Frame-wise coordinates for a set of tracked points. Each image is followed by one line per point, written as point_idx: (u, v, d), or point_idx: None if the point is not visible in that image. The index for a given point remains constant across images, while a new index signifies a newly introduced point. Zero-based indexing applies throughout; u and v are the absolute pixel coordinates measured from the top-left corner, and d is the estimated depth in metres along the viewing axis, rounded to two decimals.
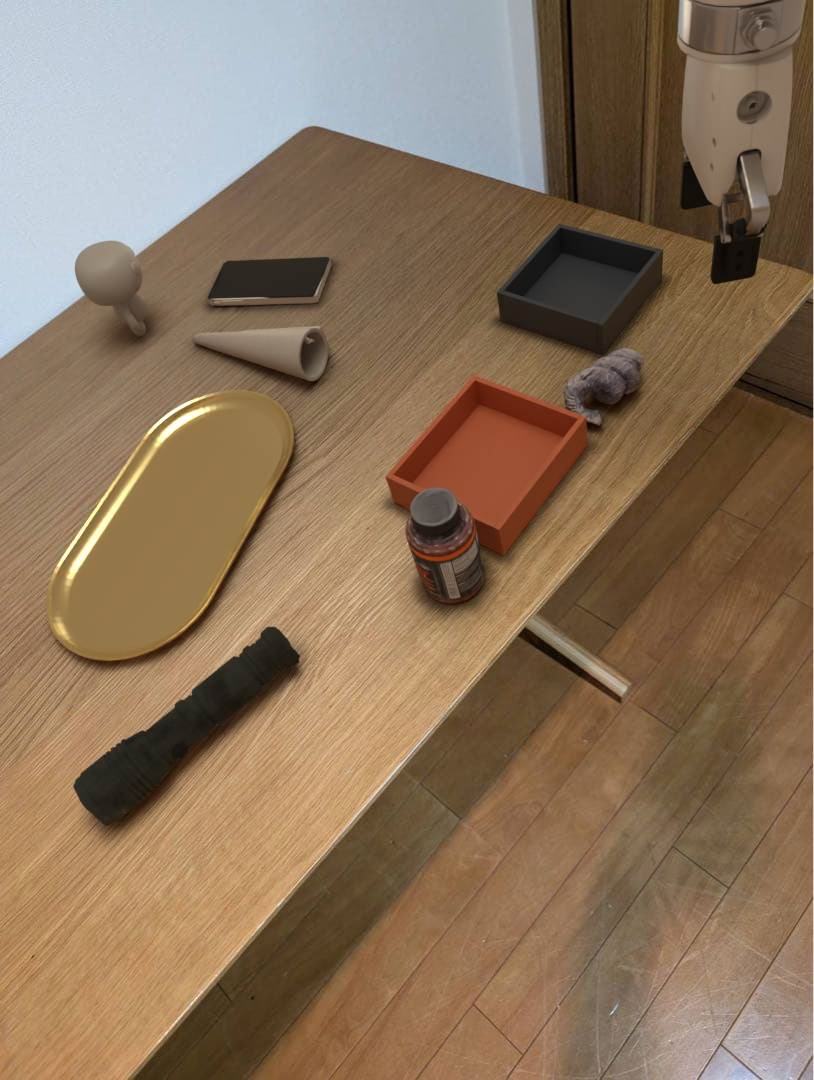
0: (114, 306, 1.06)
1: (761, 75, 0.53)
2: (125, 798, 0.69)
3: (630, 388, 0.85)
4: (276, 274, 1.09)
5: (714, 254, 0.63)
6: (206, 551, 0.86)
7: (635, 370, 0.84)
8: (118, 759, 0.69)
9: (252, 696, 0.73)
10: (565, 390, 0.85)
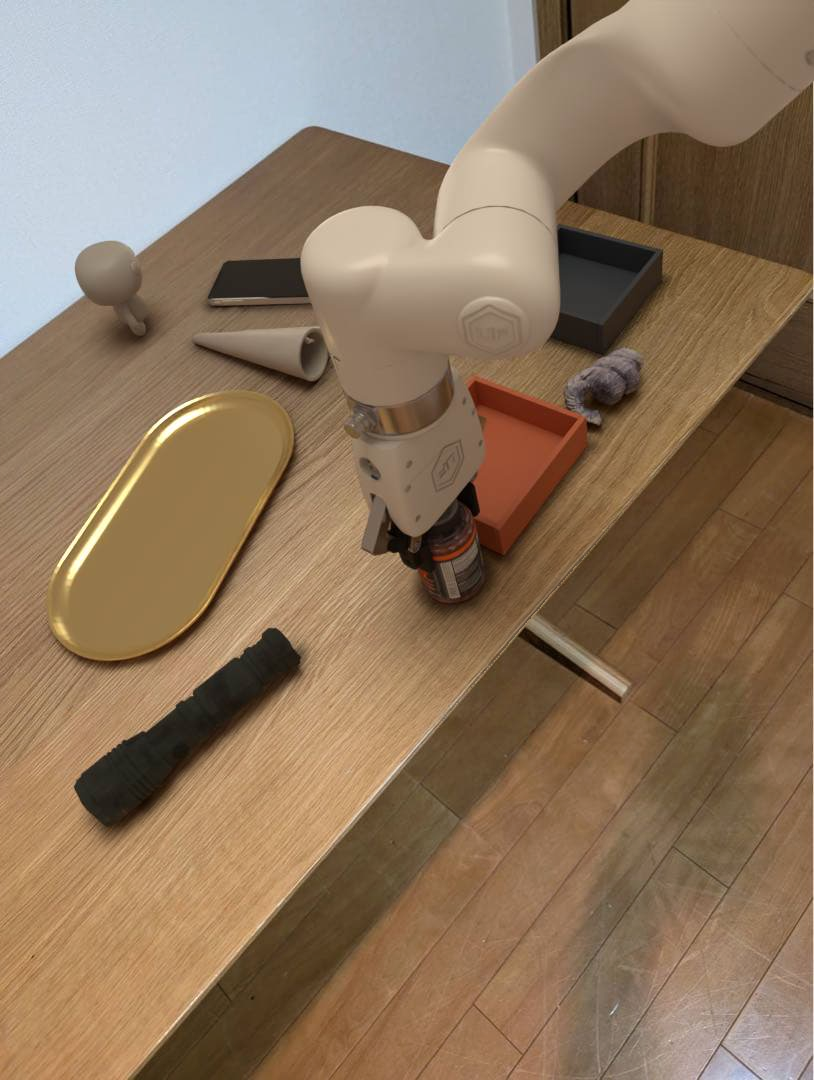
0: (114, 306, 1.06)
1: (368, 451, 0.59)
2: (126, 799, 0.69)
3: (630, 388, 0.85)
4: (276, 274, 1.09)
5: None
6: (206, 551, 0.86)
7: (635, 370, 0.84)
8: (118, 760, 0.69)
9: (253, 697, 0.73)
10: (565, 390, 0.85)
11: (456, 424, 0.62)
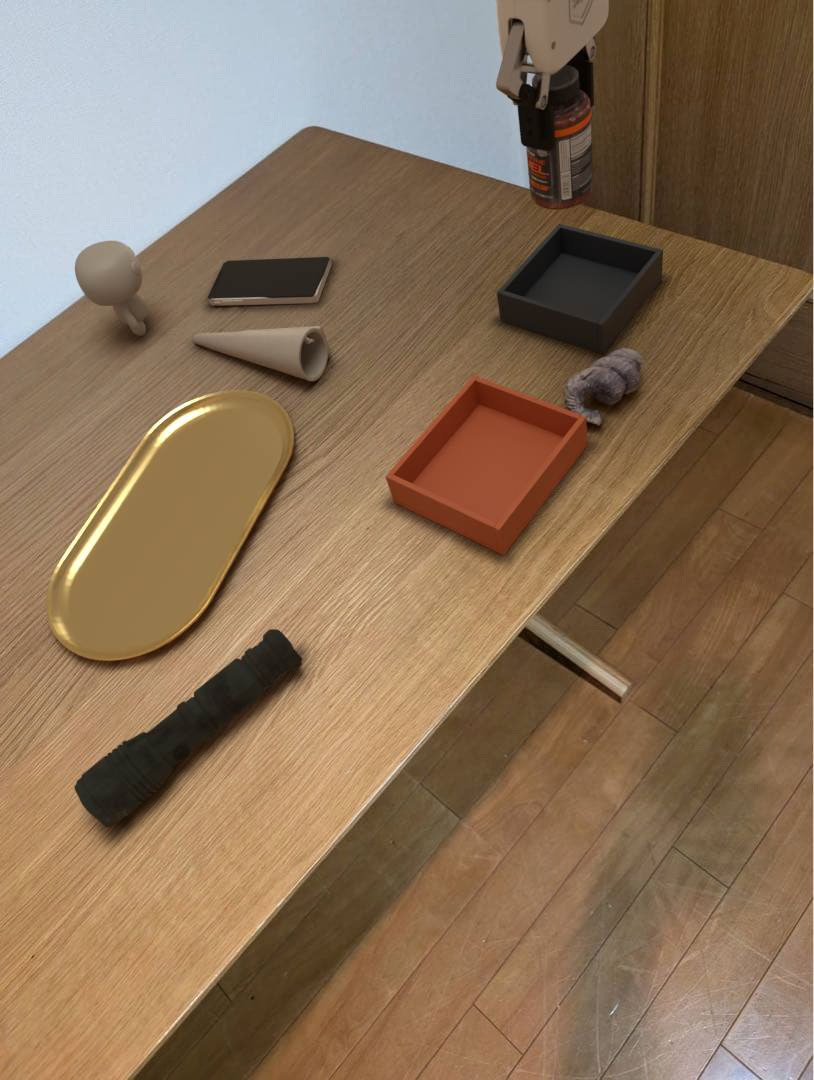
0: (114, 306, 1.06)
1: None
2: (126, 800, 0.69)
3: (630, 388, 0.85)
4: (276, 273, 1.09)
5: (519, 115, 0.74)
6: (206, 551, 0.86)
7: (635, 370, 0.84)
8: (119, 761, 0.69)
9: (254, 699, 0.73)
10: (565, 390, 0.85)
11: None
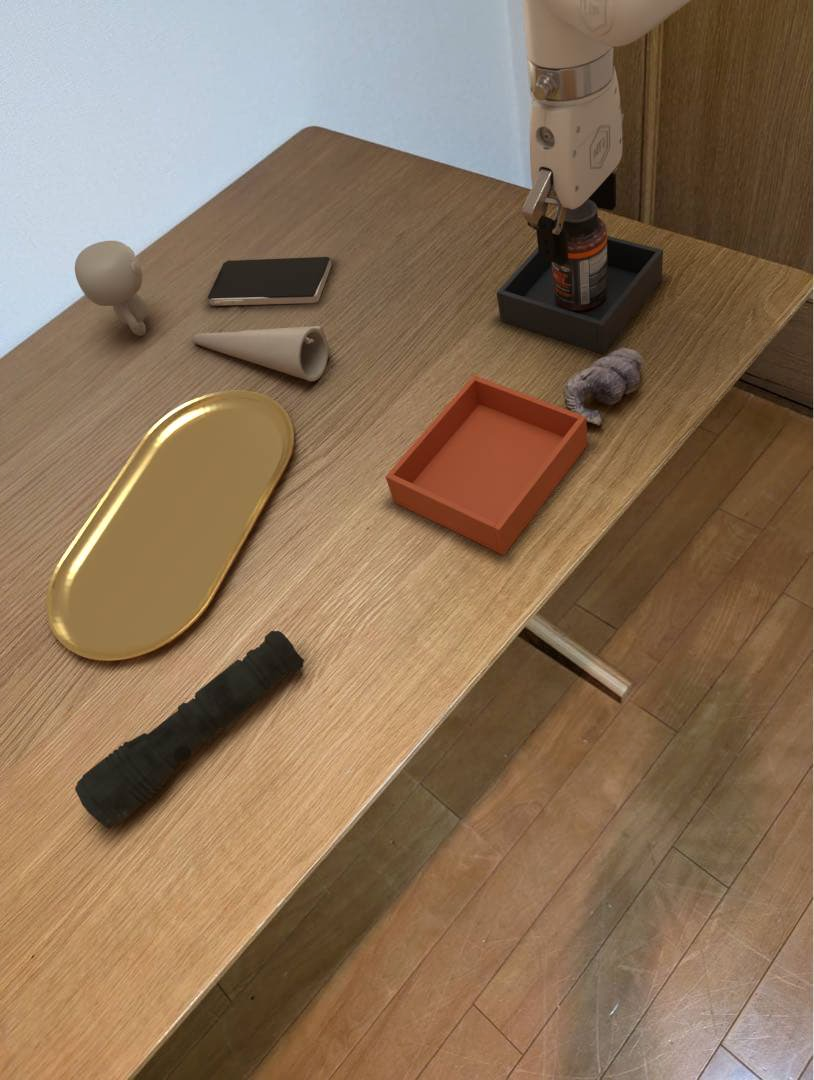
0: (114, 306, 1.06)
1: (547, 118, 0.76)
2: (127, 801, 0.69)
3: (630, 388, 0.85)
4: (276, 274, 1.09)
5: None
6: (206, 551, 0.86)
7: (635, 370, 0.84)
8: (120, 762, 0.69)
9: (255, 700, 0.73)
10: (565, 390, 0.85)
11: (609, 109, 0.79)
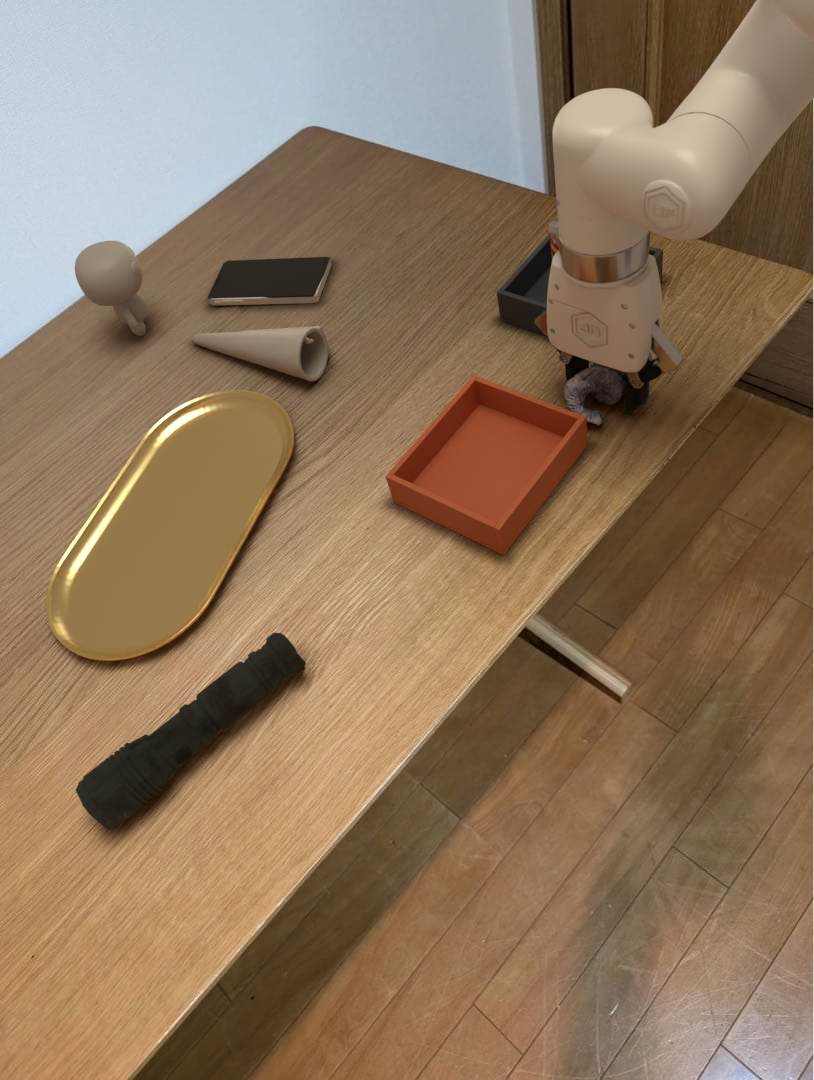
0: (114, 306, 1.06)
1: None
2: (127, 803, 0.69)
3: None
4: (277, 273, 1.09)
5: None
6: (206, 551, 0.86)
7: None
8: (121, 764, 0.69)
9: (257, 702, 0.73)
10: (565, 390, 0.85)
11: (608, 312, 0.74)
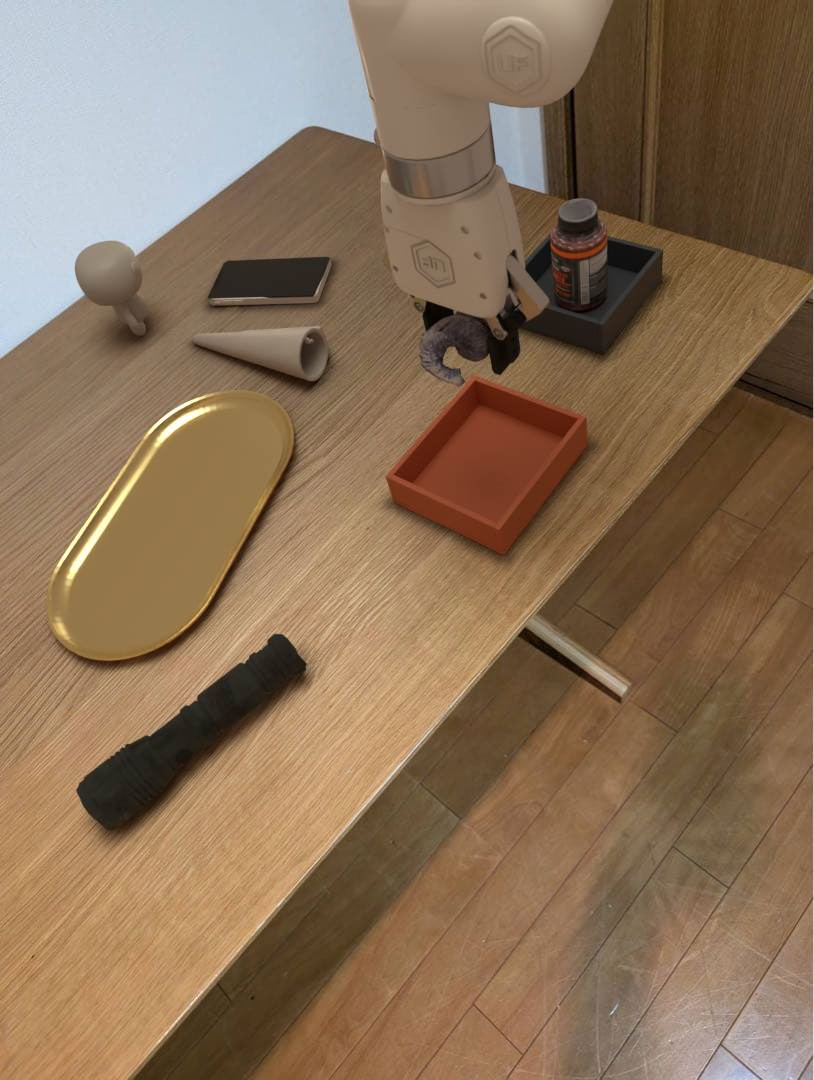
0: (114, 306, 1.06)
1: None
2: (128, 803, 0.69)
3: None
4: (277, 273, 1.09)
5: None
6: (206, 551, 0.86)
7: None
8: (121, 764, 0.69)
9: (257, 703, 0.73)
10: (420, 344, 0.70)
11: (448, 239, 0.60)
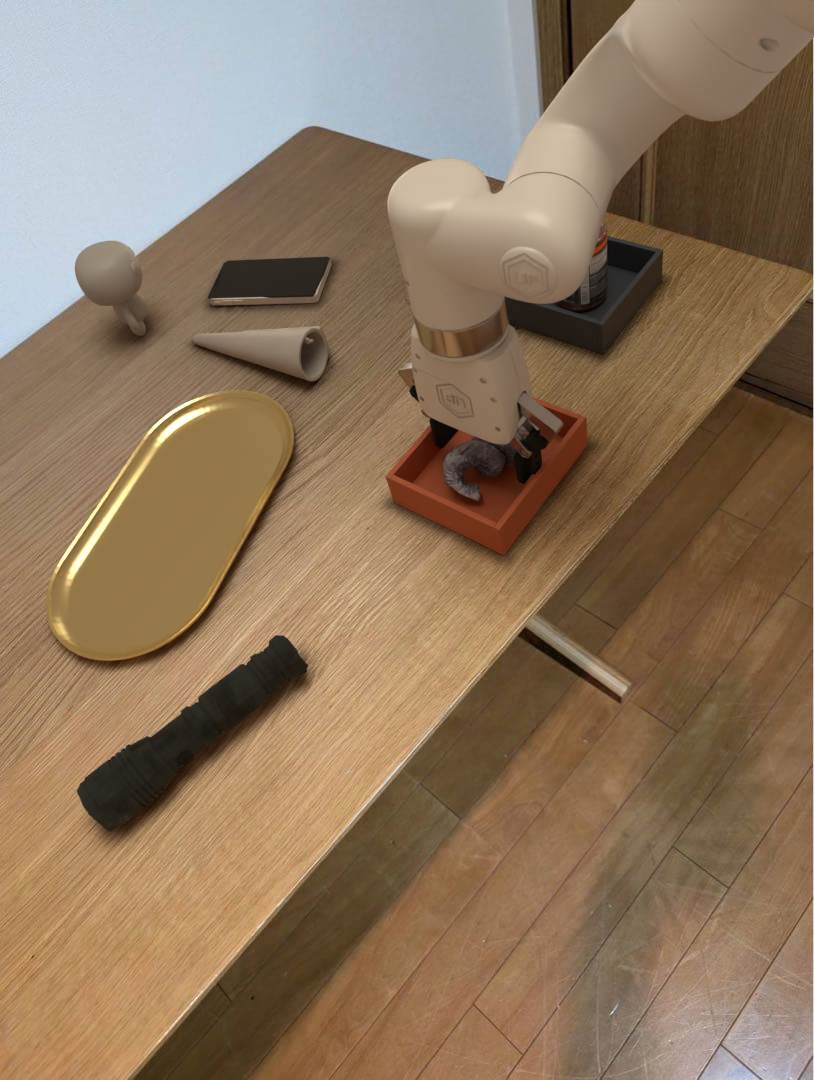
0: (114, 306, 1.06)
1: None
2: (128, 804, 0.68)
3: (511, 462, 0.82)
4: (277, 273, 1.09)
5: None
6: (206, 551, 0.86)
7: None
8: (122, 765, 0.69)
9: (259, 705, 0.72)
10: (443, 464, 0.82)
11: (468, 385, 0.71)
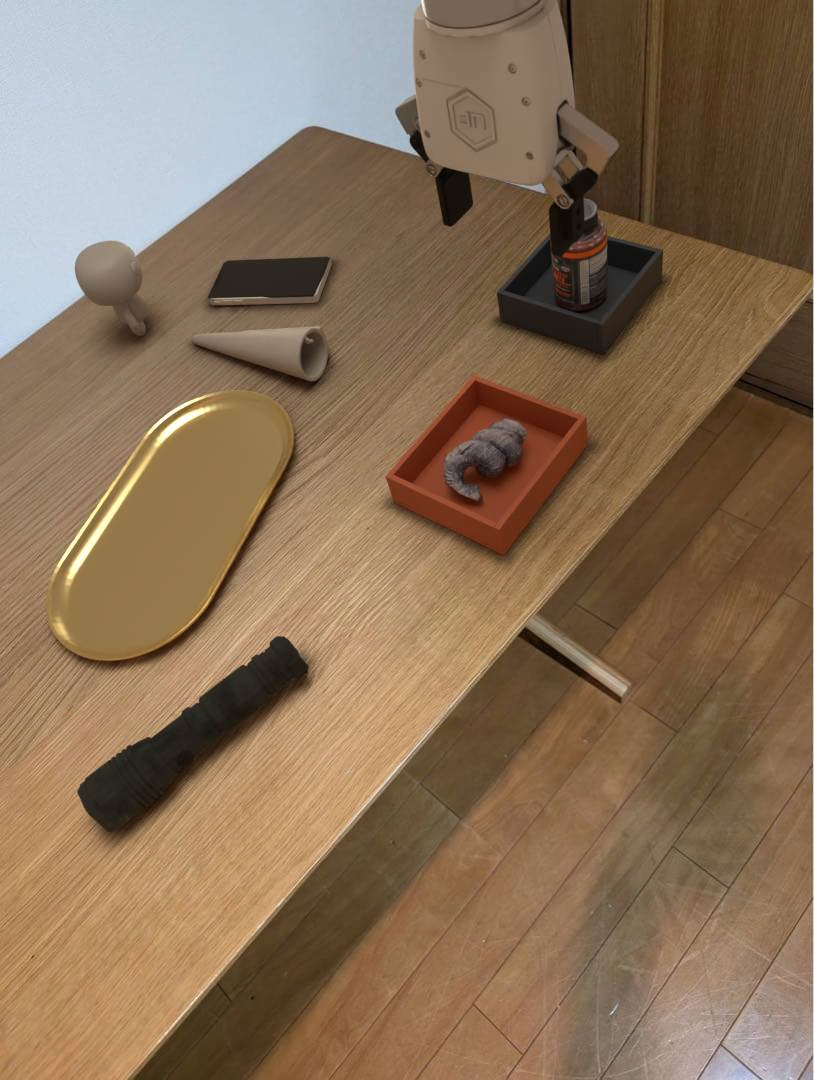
0: (114, 306, 1.06)
1: None
2: (129, 805, 0.68)
3: (511, 462, 0.82)
4: (277, 273, 1.09)
5: None
6: (206, 551, 0.86)
7: (515, 444, 0.81)
8: (123, 766, 0.68)
9: (259, 706, 0.72)
10: (443, 464, 0.82)
11: (491, 83, 0.52)
